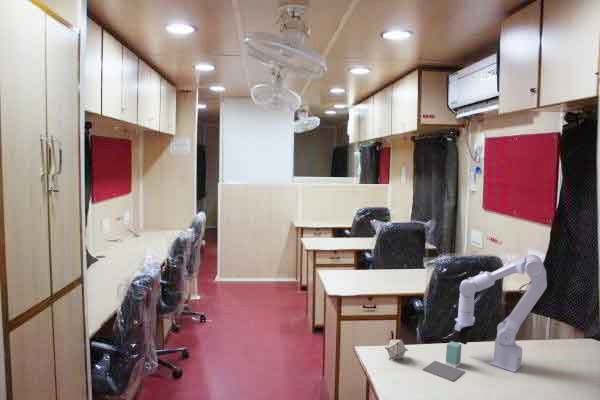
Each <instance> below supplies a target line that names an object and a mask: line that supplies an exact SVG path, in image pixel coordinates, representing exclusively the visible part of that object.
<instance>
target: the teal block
mask: <svg viewBox="0 0 600 400" xmlns="http://www.w3.org/2000/svg"><path fill="white" fill-rule="evenodd" d="M462 345H463V344H462V343H460V342H459V343H458V342H455V341H453V340H451V341H450V342H448V343H447V344H446V354H445V364H446V365H449V366H451V367H454V368H457V367H458V366H460V365H461V361H462V360H461V358H462Z"/></svg>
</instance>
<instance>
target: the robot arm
mask: <svg viewBox="0 0 600 400" xmlns="http://www.w3.org/2000/svg"><path fill="white" fill-rule="evenodd" d="M525 273H526V274H527V275H528V277H529V279H530V285H529V286H528V288H527V289H526V290H525V292H524V293H523V295H522V297H521V298H520V299H519V301H518V302H517V304H516V305H515V306H514V308H513V310H512V311H511V312H510V314H509V315H508V316H506V318H505V319H504V320H503V321H501V322H500V323H498V325H497V327H496V331H497V333H496V338H495V339H494V349H493V350H494V351H493V359H492V360H491V361H489V365H491V366H492V365H493V366H495V367H496V368H497V367H498V368H500V369H504V370H506V371H510V372H513V373H516V372H517V371H518V370H519V369H520V368H521V367H522V365H523V364H522V361H523V360H522V359H523V347H522V346H520V345H518V344H517V343H516V336H517V334H518V332H519V329H520V327H521V325H522V324H523V322H524V320H525V319H527V316H528V315H529V314H530V312H531V311H532V309H533V308H534V306H535V305H536V304H537V302H538V301H539V299H540V298H541V297H542V295H543V294H544V292H545V291H546V290H547V286H548V282H547V281H548V280H547V270H546V268H545V265H544V263H543V261H542V259H541V258H540V257H539V256H538V255H535V254H529V255H527V256H526V257H525V256H524V257H520V258H518V259H517V260H514V261H512V262H510V263H508V264H506V265H504V266H502V267H500V268H498V269H496V270H494V271H492V272H490V271H483V270H481V271H479V274H477V275H475V276H472V277H471V276H470V277H468V279H466V278H465V279H464V280H462V281H461V282H460V284H459V298H458V309H457V311H458V313H457V317H455V318H454V321H455V322H456V323H455V325H454V331H457V333H458V335H459V341H460V342H459V343H460V344H462V345H467V344H468V342H469V339H470V335H471V333H472V331H473V330H474V328H475V326H474V324H475V322H476V317H475V316H474V313H475V301H476V300H475V294H476V292H477V293H478V292H481V291H483V290H485V289H487V288H488V289H489V288H490V287H493V286H494V285H495V283H496V281H497V280H500V279H502V278H505V277H508V276H511V275H513V274H514V275H515V274H519V275H520V274H521V275H525Z"/></svg>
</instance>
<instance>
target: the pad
mask: <svg viewBox="0 0 600 400" xmlns="http://www.w3.org/2000/svg"><path fill="white" fill-rule="evenodd" d="M422 371H424V372H426V373H430V374H431V375H434V376H437V377H440V378H442V379H445V380H448V381H450V382H454V381H456V380H457V379H459V378H460V377H461V376H462V375H464V374H465V373H466V370H462V369H460V368H457V367H456V368H455V367H452V366H450V365H447V364H446V363H443V362H439V361H437V360H433V361H432V362H431V363H430V364H428V365H426V366H425V367H424V368H422Z"/></svg>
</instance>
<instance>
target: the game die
mask: <svg viewBox="0 0 600 400" xmlns="http://www.w3.org/2000/svg"><path fill="white" fill-rule="evenodd" d="M403 340H404V338H403V337H402V338H401V339H394V338H391V337H389V342H388V343H387V345H386V346H385V347H384V349H385V350H386V351H387V353H388V356H389V358H388V360H389V361H390V360H391V359H396V360H397V359H398V360H399V359H400V360H401V361H402V362H403V361H404V359H403V357H404V356H405V353H406V352H407V351H409V349H407V348H406V346H405V343H404V342H403Z"/></svg>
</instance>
